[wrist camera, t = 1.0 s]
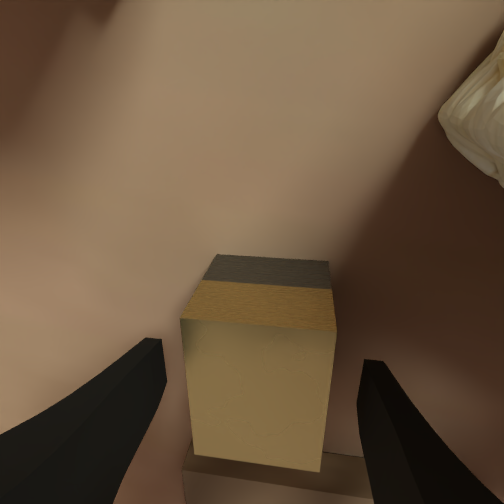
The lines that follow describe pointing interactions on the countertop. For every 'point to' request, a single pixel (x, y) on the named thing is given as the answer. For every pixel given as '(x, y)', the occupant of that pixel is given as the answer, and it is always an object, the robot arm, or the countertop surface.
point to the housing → (260, 360)
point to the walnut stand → (275, 481)
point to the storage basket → (479, 115)
